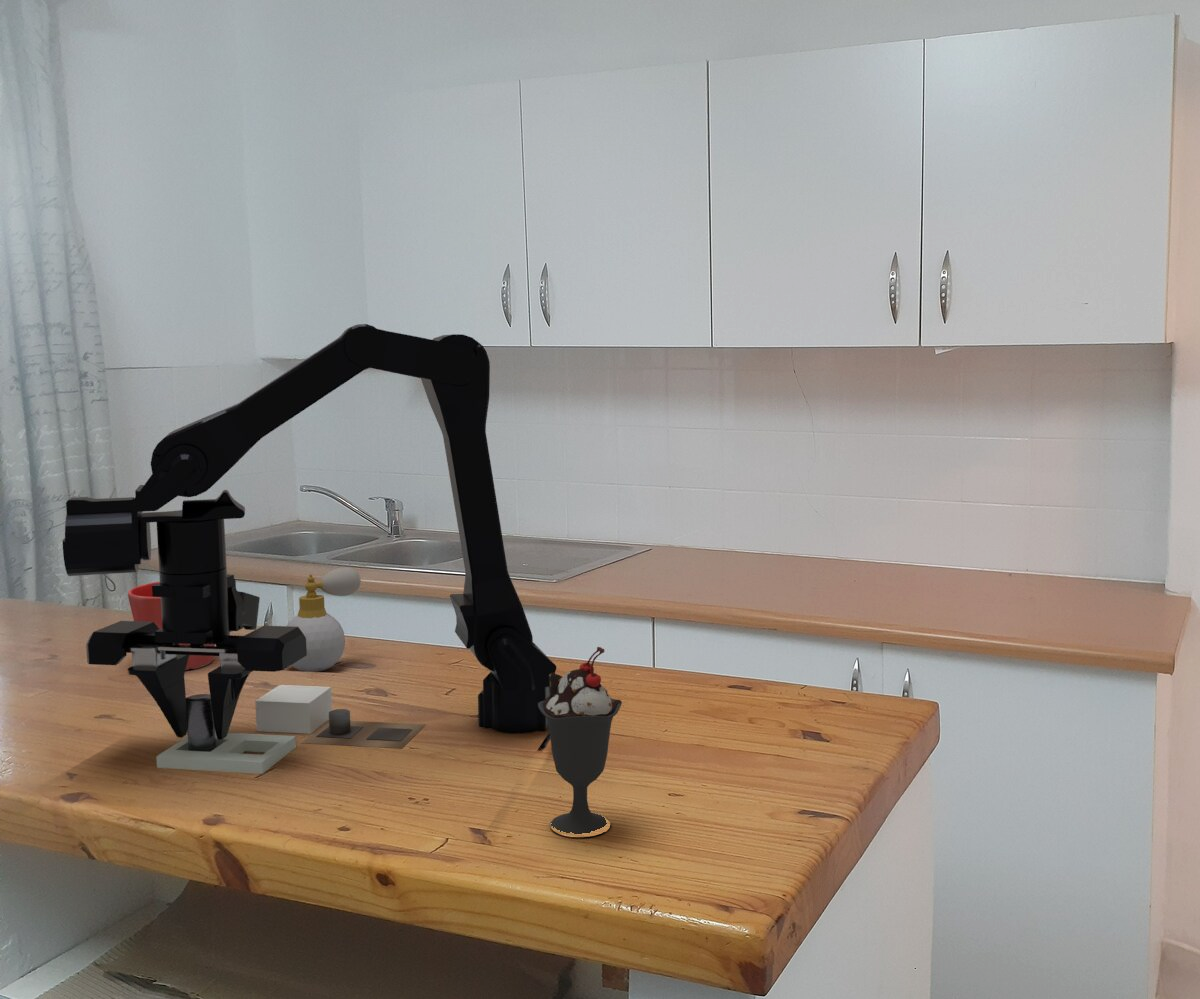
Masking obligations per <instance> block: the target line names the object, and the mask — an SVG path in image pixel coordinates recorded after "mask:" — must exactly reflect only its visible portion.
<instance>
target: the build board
mask: <svg viewBox="0 0 1200 999" xmlns="http://www.w3.org/2000/svg"><path fill="white" fill-rule="evenodd" d="M215 736H216V748H215V749H214V750H212V751H211V752H204V751H188V736H186V737H183V739H181V740H179V741H178V742H177V743H175V744H173V745H172V746H171V747H169V748H167V749H165V750H164V751H162V752H161V753H159V754H158V755H156V759H155V760H156V768H157V769H173V770H175V769H176V770H188V771H189V770H193V771H204V772H205V771H210V772H211V771H212V772H227V773H229V772H230V773H241V774H242V773H243V774H260V775H261V774H264V773H265V772H266V771H268V770H269V769H270V768H272V767H273V766H274V765H275V764H277V763H278V762H279V761H281V760H283V758H285V756H287V755H289V753H291V752H292V751H293V750H294V749H295V748H297V737H296V735H284V734H283V735H282V734H281V735H280V734H279V735H278V734H264V733H263V734H258V733H243V732H242V733H241V732H228V734H227V736H226V737H225V738H224V739H222V740H218V739H217V735H216V732H215ZM244 752H251V753H244ZM252 752H256V753H257V754H254V753H252ZM258 753H262V754H258Z"/></svg>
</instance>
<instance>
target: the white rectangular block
mask: <svg viewBox="0 0 1200 999" xmlns="http://www.w3.org/2000/svg"><path fill="white" fill-rule="evenodd" d="M332 696H333V695H332V687H331V686H316V685H296V684H295V685H293V684H279V685H277V686H276V687H274V688H272V689H271V690H270V691H268V692H266V693H265V694H264V695H262V696H261V697H259V698H257V699H256V700H255V702H254V703H255V722H256V732H265V733H283V734H284V733H285V734H286V733H288V734H306V735H307V734H308V735H311V734H313V733H314V732H315V731H316V730H318V729H319V728H320V727H321V726H323V725H324V724H325V723H326V722H328V721H329V712H330V711H332V710H333V703H332V702H333V700H332V699H333V697H332Z"/></svg>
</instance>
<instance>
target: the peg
mask: <svg viewBox="0 0 1200 999" xmlns="http://www.w3.org/2000/svg"><path fill="white" fill-rule="evenodd" d="M186 717H187V734H186V736H187V737H188V751H204V752H211V751H212V750H214V749H215V748H216V736H215V728H214V722H213V714H212V705H211V697H210V693H209V694H208V693H200V694H199V693H198V694H194V695H189V696H186Z"/></svg>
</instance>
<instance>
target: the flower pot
mask: <svg viewBox="0 0 1200 999" xmlns="http://www.w3.org/2000/svg"><path fill="white" fill-rule="evenodd" d="M158 583H160V581H155V582H149V583H145V584H140V585H137V586H135V587H133V588H131V589H129V590H128V592H127V597H128V602H129V606H130V607H129V608H130V610H131V614H132V618H133V621H141V622H154V623H155V624H156V625H157V627H158V628H159V629H161V628H162V611H161V597H152V585H155V584H158ZM179 645H190V644H181V643H179ZM204 646H216V644H215V645H213V644H211V645H209V644H204ZM213 660H214V656H202V655H189V658H188V662H187V666H186V669H185V671H188V670H189V669H191V670H192V669H193V670H195V669H199V668H202V667H205V666H207V665H208V664H210V663H211V662H213Z"/></svg>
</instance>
